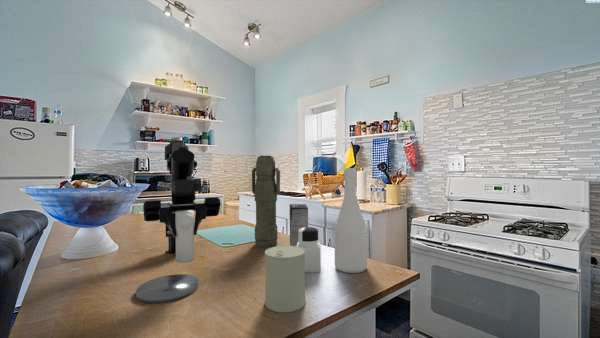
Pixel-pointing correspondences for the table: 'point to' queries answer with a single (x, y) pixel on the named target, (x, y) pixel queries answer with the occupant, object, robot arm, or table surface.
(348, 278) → the table surface
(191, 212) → the duct elbow
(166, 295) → the flange plate
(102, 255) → the table surface
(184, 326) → the table surface
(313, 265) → the medicine bottle
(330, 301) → the table surface
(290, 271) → the can
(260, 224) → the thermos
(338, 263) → the wine bottle
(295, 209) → the coffee box
